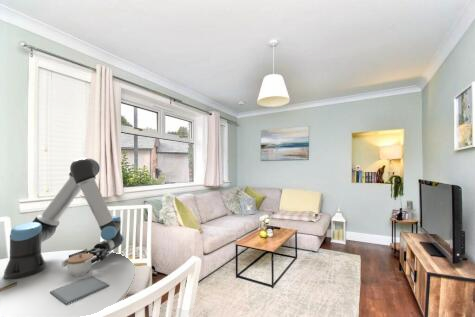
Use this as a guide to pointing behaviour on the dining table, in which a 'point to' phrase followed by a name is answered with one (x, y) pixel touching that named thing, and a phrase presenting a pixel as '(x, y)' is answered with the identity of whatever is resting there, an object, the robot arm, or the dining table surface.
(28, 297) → the dining table surface
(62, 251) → the dining table surface
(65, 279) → the dining table surface
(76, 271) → the lidded jar
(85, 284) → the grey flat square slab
